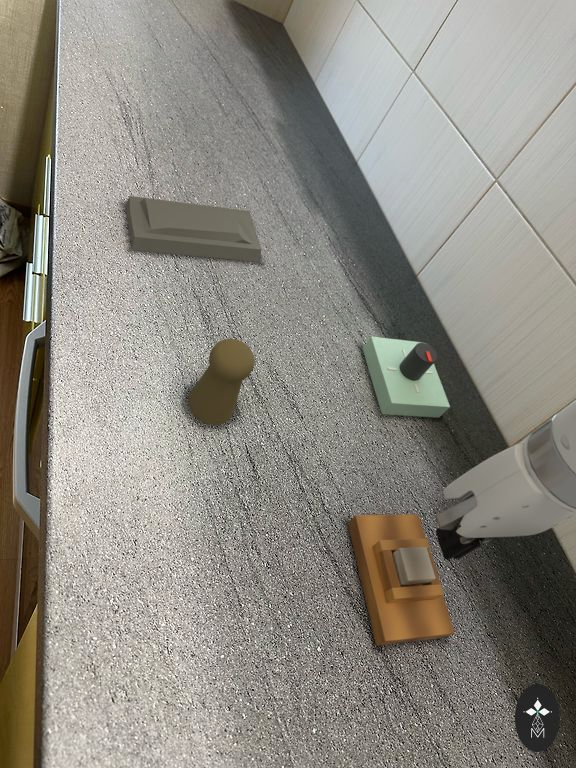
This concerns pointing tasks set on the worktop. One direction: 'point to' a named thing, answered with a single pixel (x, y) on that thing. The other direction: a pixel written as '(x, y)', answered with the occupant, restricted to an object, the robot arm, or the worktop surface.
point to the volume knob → (418, 361)
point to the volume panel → (402, 381)
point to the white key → (413, 566)
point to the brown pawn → (221, 382)
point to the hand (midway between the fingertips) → (446, 544)
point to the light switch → (397, 581)
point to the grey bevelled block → (191, 229)
